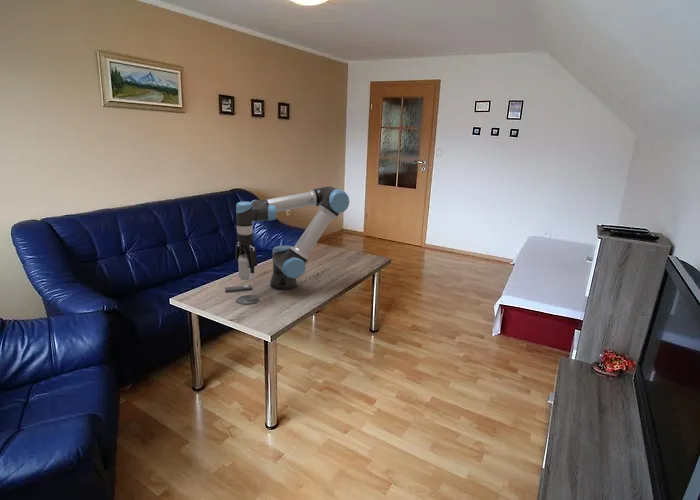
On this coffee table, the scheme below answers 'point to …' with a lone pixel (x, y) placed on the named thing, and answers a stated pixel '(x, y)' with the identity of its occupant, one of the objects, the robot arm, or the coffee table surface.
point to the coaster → (247, 299)
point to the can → (243, 267)
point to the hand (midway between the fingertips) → (246, 276)
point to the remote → (238, 288)
